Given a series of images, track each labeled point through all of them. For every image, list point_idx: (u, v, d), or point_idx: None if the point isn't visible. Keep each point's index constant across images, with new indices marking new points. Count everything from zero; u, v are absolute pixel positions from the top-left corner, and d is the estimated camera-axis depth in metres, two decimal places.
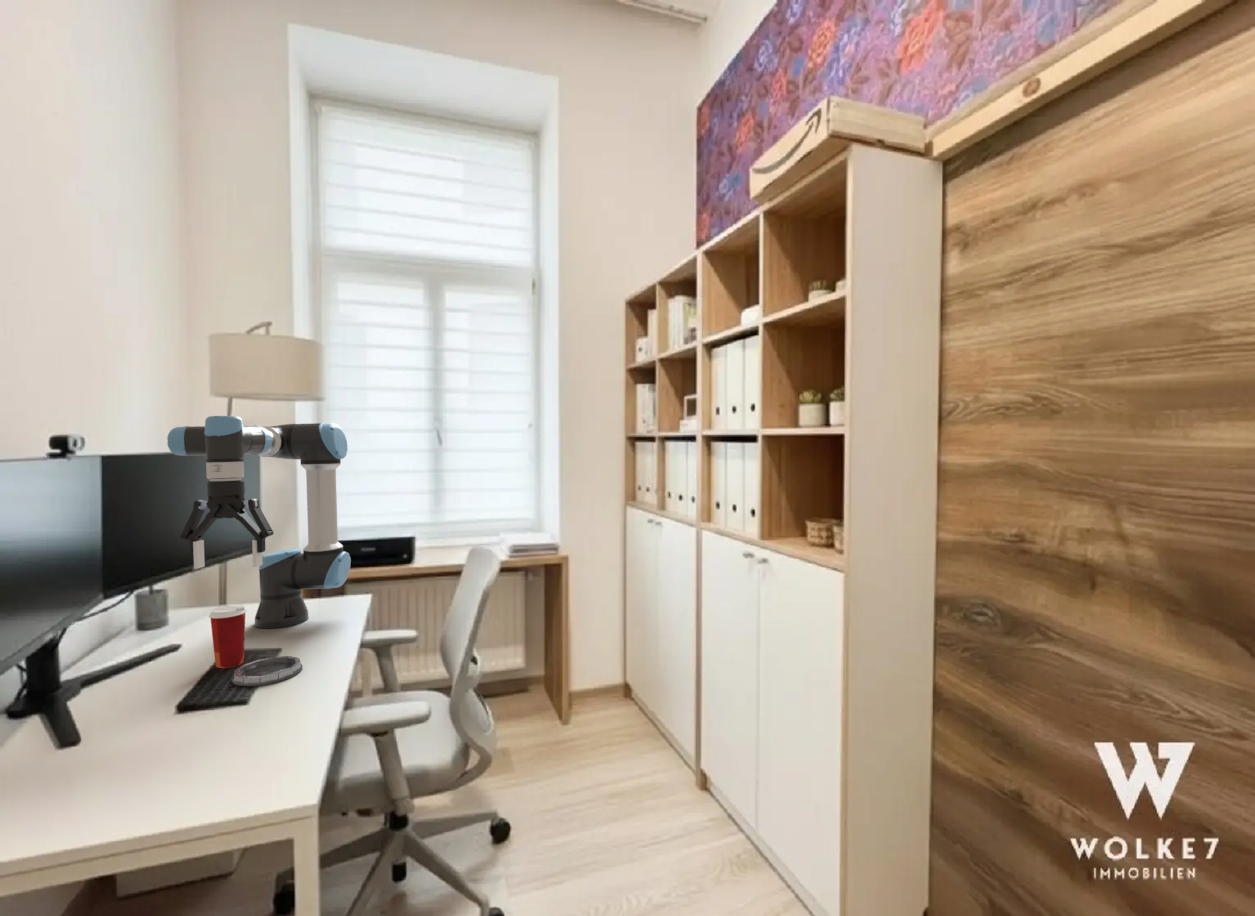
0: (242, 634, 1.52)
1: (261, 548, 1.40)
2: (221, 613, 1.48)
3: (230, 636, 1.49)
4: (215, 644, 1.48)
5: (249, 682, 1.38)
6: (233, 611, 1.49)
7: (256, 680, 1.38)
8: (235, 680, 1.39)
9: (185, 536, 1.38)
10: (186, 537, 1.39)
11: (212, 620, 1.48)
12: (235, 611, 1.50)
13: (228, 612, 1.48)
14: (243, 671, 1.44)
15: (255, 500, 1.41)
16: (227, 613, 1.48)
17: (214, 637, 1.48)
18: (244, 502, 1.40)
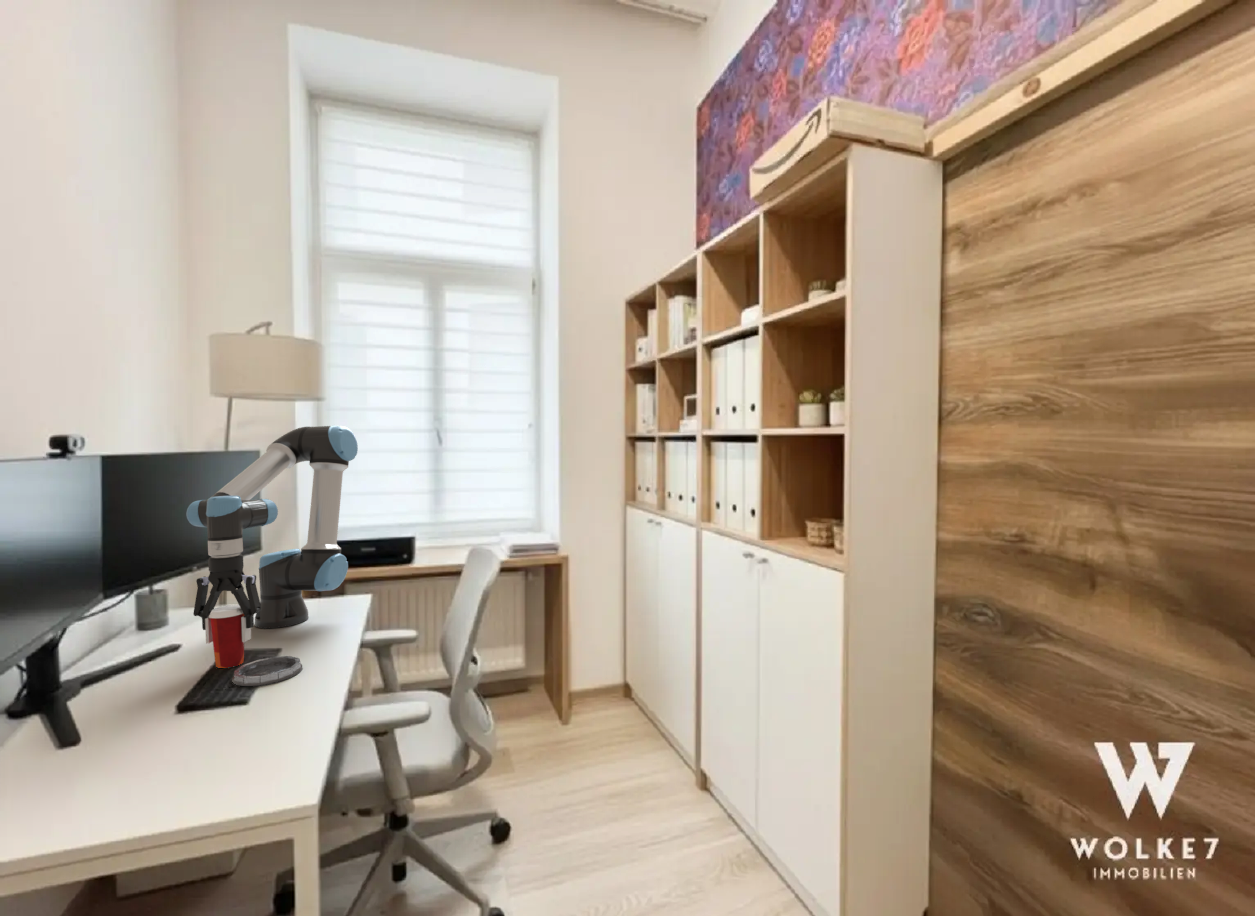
0: None
1: (250, 624, 1.51)
2: (221, 613, 1.48)
3: (230, 636, 1.49)
4: (215, 644, 1.48)
5: (249, 682, 1.38)
6: (233, 611, 1.49)
7: (256, 680, 1.38)
8: (235, 680, 1.39)
9: (197, 613, 1.50)
10: (199, 613, 1.50)
11: (212, 620, 1.48)
12: (235, 611, 1.50)
13: (228, 612, 1.48)
14: (243, 671, 1.44)
15: (253, 577, 1.52)
16: (227, 613, 1.48)
17: (214, 637, 1.48)
18: (243, 577, 1.51)
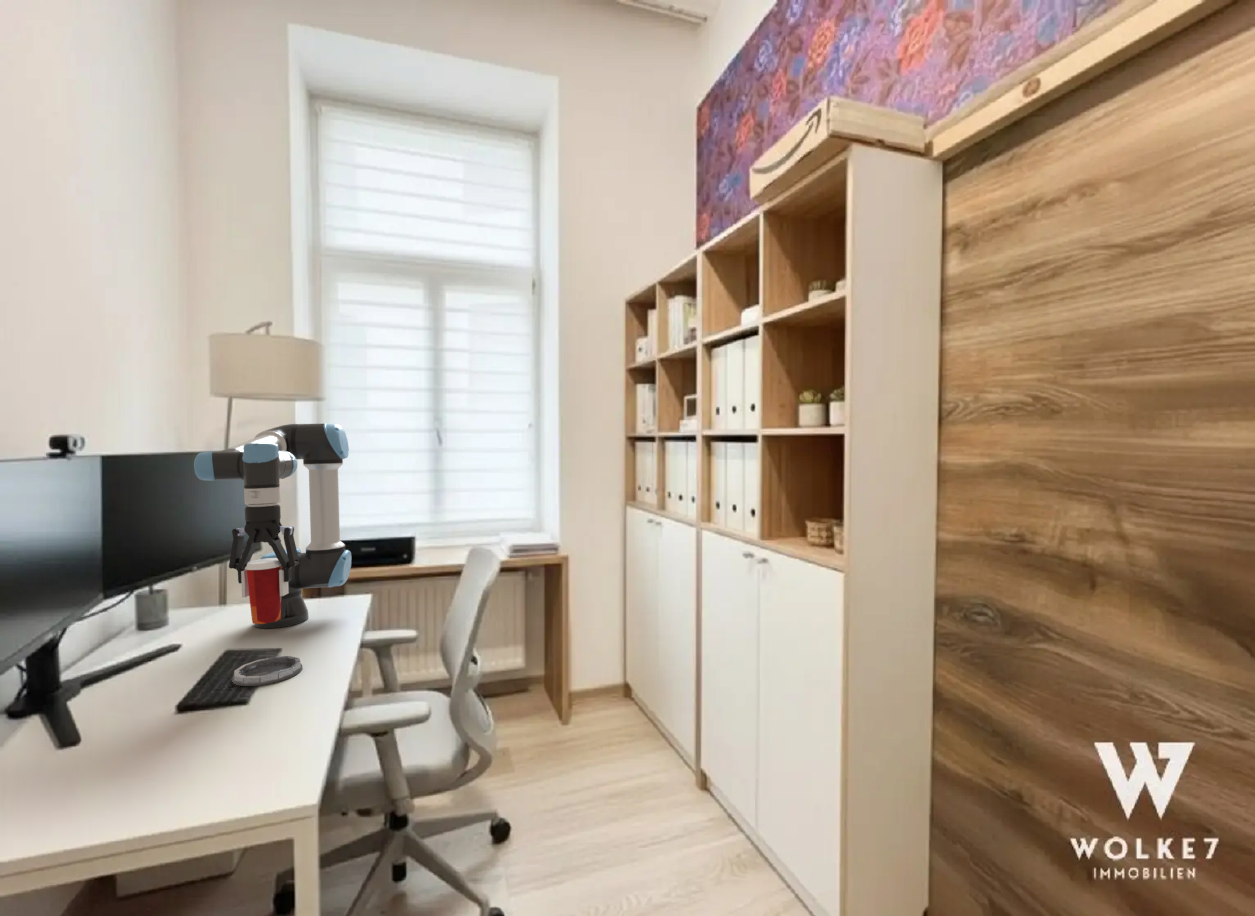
0: (279, 588, 1.44)
1: (287, 577, 1.44)
2: (258, 565, 1.40)
3: (267, 590, 1.41)
4: (252, 597, 1.41)
5: (249, 682, 1.38)
6: (270, 563, 1.42)
7: (256, 680, 1.38)
8: (235, 680, 1.39)
9: (233, 565, 1.42)
10: (234, 566, 1.43)
11: (248, 572, 1.41)
12: (272, 563, 1.42)
13: (265, 564, 1.41)
14: (243, 671, 1.44)
15: (291, 528, 1.44)
16: (264, 565, 1.41)
17: (251, 590, 1.41)
18: (280, 528, 1.44)
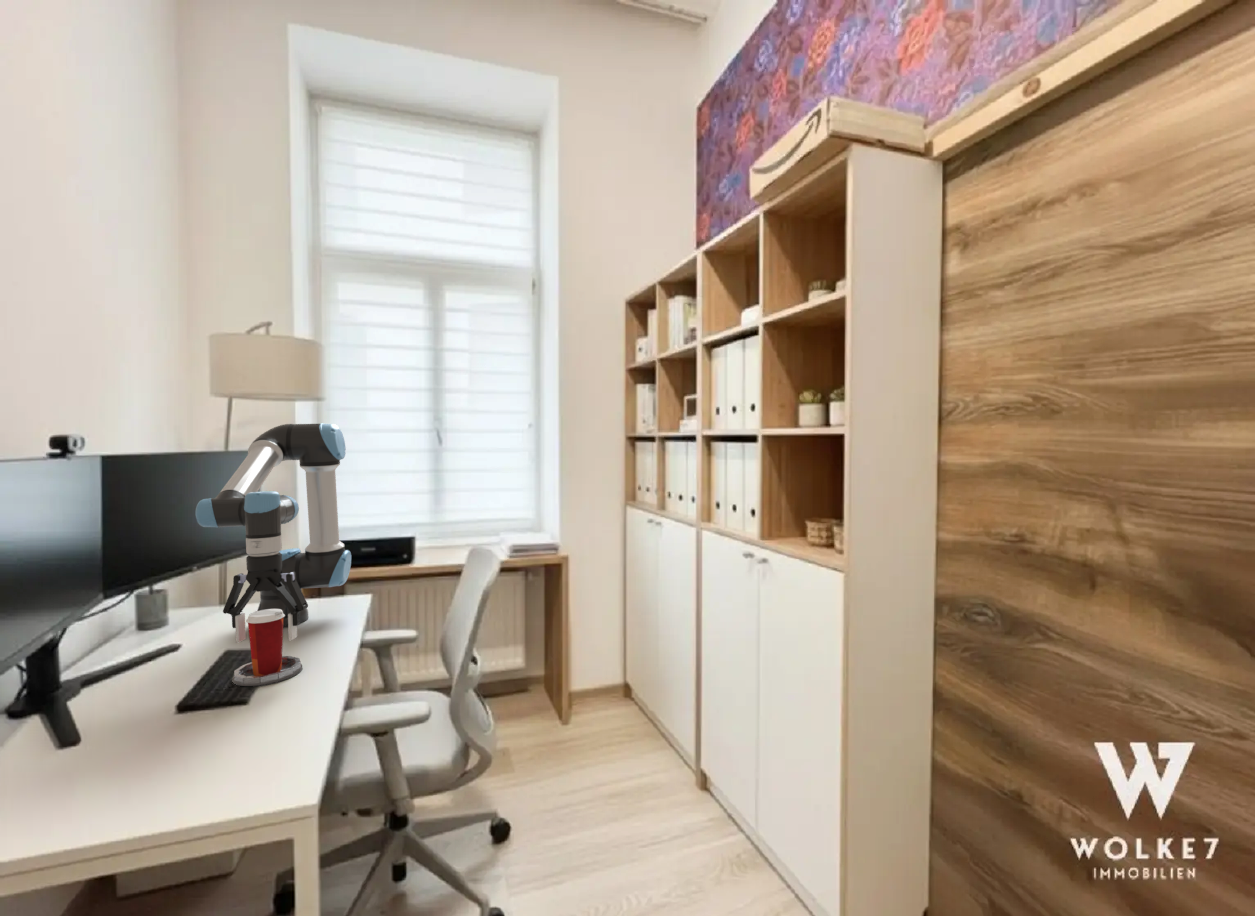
0: (280, 640, 1.45)
1: (296, 621, 1.44)
2: (259, 618, 1.41)
3: (269, 642, 1.42)
4: (253, 650, 1.41)
5: (249, 682, 1.38)
6: (271, 616, 1.42)
7: (256, 680, 1.38)
8: (235, 680, 1.39)
9: (227, 610, 1.43)
10: (228, 611, 1.43)
11: (250, 625, 1.41)
12: (273, 616, 1.43)
13: (266, 617, 1.41)
14: (243, 671, 1.44)
15: (293, 574, 1.45)
16: (265, 618, 1.41)
17: (252, 643, 1.41)
18: (282, 575, 1.44)
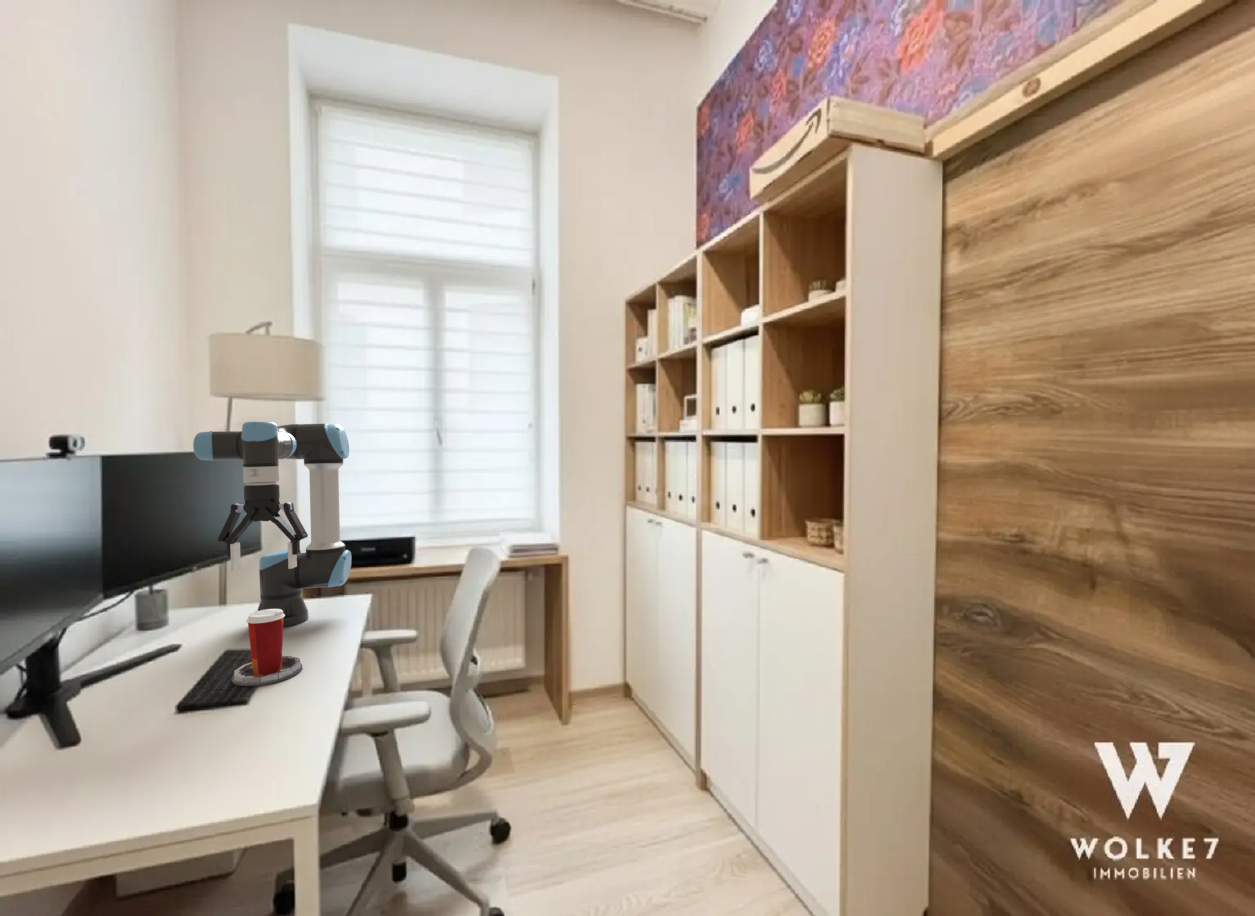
0: (280, 640, 1.45)
1: (296, 550, 1.44)
2: (259, 618, 1.41)
3: (269, 642, 1.42)
4: (253, 650, 1.41)
5: (249, 682, 1.38)
6: (272, 616, 1.42)
7: (256, 680, 1.38)
8: (235, 680, 1.39)
9: (222, 539, 1.42)
10: (223, 540, 1.43)
11: (250, 625, 1.41)
12: (274, 616, 1.43)
13: (266, 617, 1.41)
14: (243, 671, 1.44)
15: (290, 503, 1.44)
16: (265, 618, 1.41)
17: (252, 643, 1.41)
18: (279, 505, 1.44)
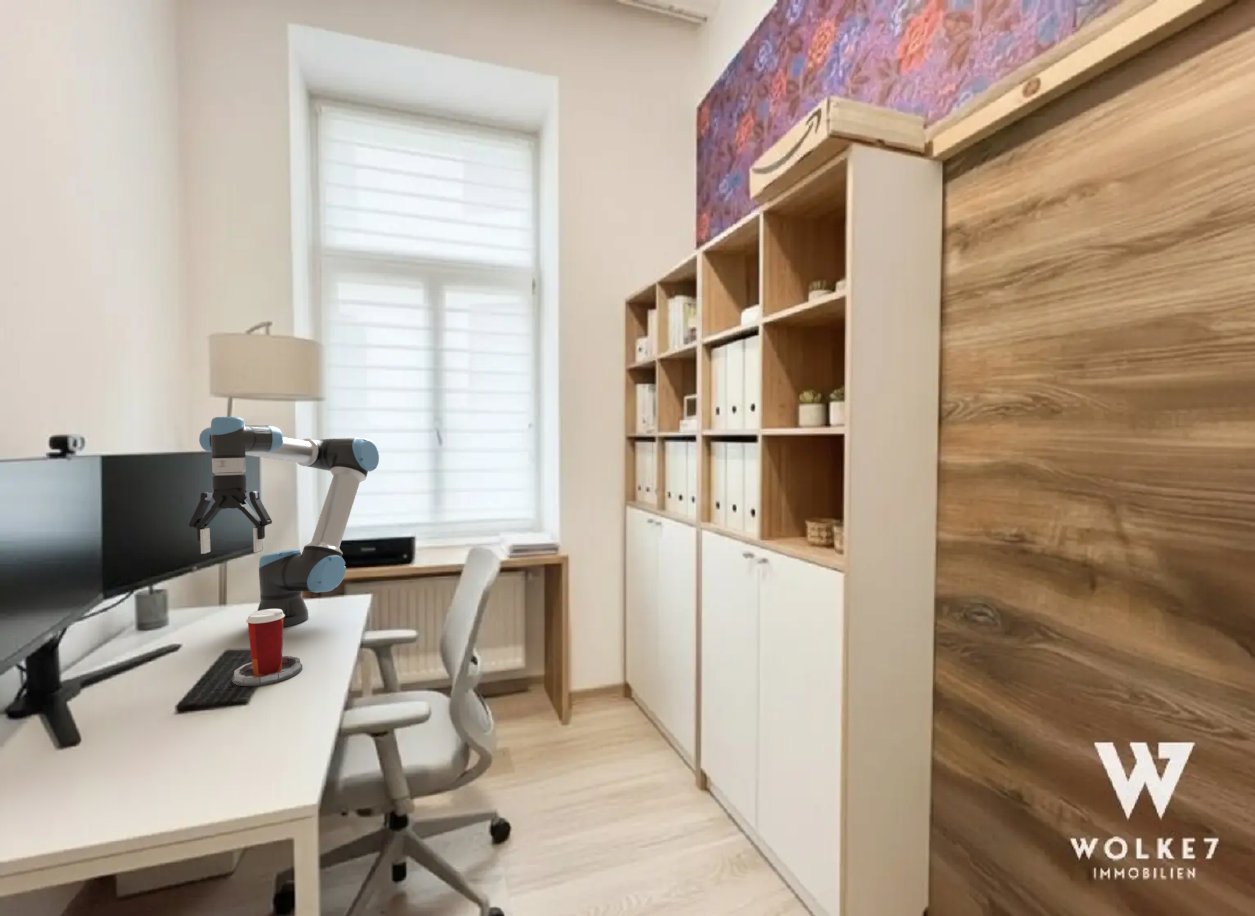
0: (280, 640, 1.45)
1: (261, 535, 1.57)
2: (259, 618, 1.41)
3: (269, 642, 1.42)
4: (253, 650, 1.41)
5: (249, 682, 1.38)
6: (271, 616, 1.42)
7: (256, 680, 1.38)
8: (235, 680, 1.39)
9: (193, 524, 1.55)
10: (194, 525, 1.55)
11: (250, 625, 1.41)
12: (273, 616, 1.43)
13: (266, 617, 1.41)
14: (243, 671, 1.44)
15: (256, 492, 1.57)
16: (265, 618, 1.41)
17: (252, 643, 1.41)
18: (246, 494, 1.56)
